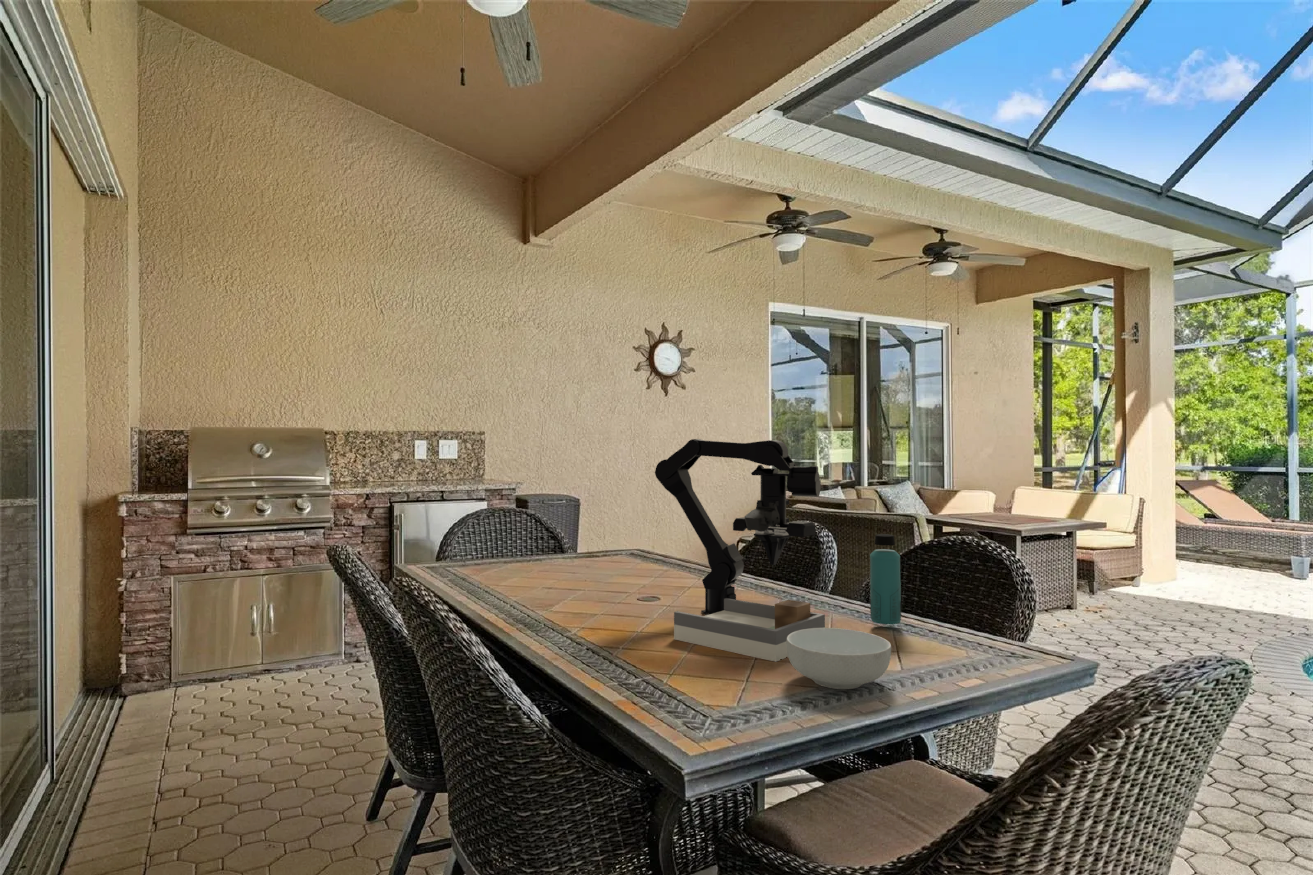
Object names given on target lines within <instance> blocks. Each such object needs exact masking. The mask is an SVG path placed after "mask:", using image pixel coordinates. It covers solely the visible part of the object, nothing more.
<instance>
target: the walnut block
mask: <svg viewBox="0 0 1313 875" xmlns="http://www.w3.org/2000/svg"><path fill="white" fill-rule="evenodd" d="M774 606H775V629H777V628H780V627H783V626H786V625H789V624H792V623H794V622H797V621H800V620H803V619H806V618H809V617H810V612H811V603H810V602H806V601H805V602H804V601H799V600H798V601H797V600H791V599H787V600H783V601H779V602H777V603H774Z"/></svg>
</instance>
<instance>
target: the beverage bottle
mask: <svg viewBox="0 0 1313 875" xmlns="http://www.w3.org/2000/svg"><path fill="white" fill-rule="evenodd" d="M895 544H896V541H895V536H894V535H893V534H888V533H887V534H886V533H879V534H875V535H874V545H877V546H895ZM869 560H870V562H869V563H870V568H869V570H870V573H869V574H870V575H869V576H870V577H869V579H870V580H869V581H870V582H869V591H870V592H869V596H870V599H869V617H870V620H871V621H872V622H874V623H876V624H882V625H897V624H900V623H901V621H902V618H903V617H902V616H903V615H902V610H903V608H902V606H903V605H902V602H903V601H902V586H901V585H902V580H901V555H900V554H899V553H898V552H897V551H896V550H893V549H885V548H881V549H878V548H877V549H874V550H873V551H872V552H871V553H870V554H869Z"/></svg>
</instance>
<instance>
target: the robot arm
mask: <svg viewBox="0 0 1313 875" xmlns="http://www.w3.org/2000/svg"><path fill="white" fill-rule="evenodd" d="M701 457H713V458H727V459H738V460H739V459H741V460H746V461H749V462H753V463H755V464H758V465H757V467H756V468H755V469H754V470H753V471H751V475H752V476H760V496H759V497H760V499H757V502H756V508H754V509H752V510H750V512H748V513H747V514H746V515H744V516H743V517H736V518H734V520H733V522H732V531H735V532H737V531H738V532H745V531H746V530H747V531H749V532H750V531H754V532H755V533H753V536H754V537H756V538H758V540H760V541H761V544H762V545H763V548H764V549H765V553H766V555H767V559H768V561H769V564H770V566H776V565H777V563H778V561H779V558H780V556H781V554H782V552H783V549H784V547H785V545H786V544H787V542H788V540H789V539H790V538H792V537H799V538H804V537H811V536H815V535H817V534H816V533H817V532H816V531H817V530H816V525H815V523H813V522H812V521H804V520H802V521H801V520H799V521H798V520H797V521H791V522H790V518H789V517H787V506H788V505H790V500H789V499H787V492H788V493H791V496H793V497H805V498H806V497H807V498H808V497H811V498H819V496H820V495H821V485H822V484H821V479H820V474H819V466H818V465H811V466H797V465H796V464H795V462H794V461H793V460H792V458H791V457H790V455H789V450H788V447H787V445H786V444H785V443H784V442H783V441H781V440H775V439H774V440H773V439H772V440H771V439H770V440H760V441H753V442H731V441H718V440H717V441H715V440H703V439H700V438H692V439H689V440H688V441H687V442H686V443H685V444H684V445H683V446H682V447H681V448H679V449H678V450H677V451H675V452H674V453H672V454H671V455H670V456H669V457H668V458H667V459H661V461H659V462H658V463H657V464H656V466H655V471H654V475H655V478H656V479H657V481H658V482H659V483H660V484H661V485H662V487H663V488H664V489H665V490H666V491H668V492H669V493H670V495H672V496H673V497H674V498H675V499H676V501H677V502H678V504H679V505H680V507H681V509H682V511H683V513H684V514H685V516H686V518H687V520H688V521H689V523H690V524H691V527H692V528H693V529H694V531H695V533H696V535H697V537H698V538H699V540H700V542H701V543H702V545H703V547H704V549H705V551H706V557H707V562H708V566H709V568H710V572H708V574H706V576H705V577H704V578H702V580H701V582H702V584H703V587H704V589H705V591H704V592H705V593H704V594H705V595H704V598H705V599H704V600H705V603H704V604H705V607H704V609H703V610H701V611H700V613H702V614H705V615H709V614H713V613H716V612H720V611H723V610H724V599H725V598H729V599H735V600H737V593H736V590H735V589H736V588H735V586H733V585H735V583H736V580H737V579H738V578H739V577H740V576H741V575H742V574H743V572H744V566H745V563H744V561H743V559H744V558H745V557H744V556H742V555H741V553H740V552H739V549H738V547H737V545H736V543H734V542H733V543H730V544H728V543H727V542H725V541H724V540H723V539H722V536H721V534H720V533H719V531H718V529H717V528H716V526H715V525H714V523H713V521H712V520H711V518H710V516H709V514H708V513H707V511H706V508H704V506H703V505H702V503H701V501H700V499H699V498H698V496H697V494H696V492H695V491H694V488H693V485H692V479H691V478H692V477H691V475H690V472H689V470H690V469H691V468H692V467H693V466H694V465H695V464H696V462H697V461H698V460H699V459H700V458H701ZM763 465H764V466H768V467H764V466H763ZM771 466H773V468H772V467H771ZM769 467H771V468H769ZM778 470H779V471H780V472H779V471H778ZM781 471H782V472H781ZM783 471H787V472H783Z"/></svg>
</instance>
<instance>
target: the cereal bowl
mask: <svg viewBox="0 0 1313 875" xmlns="http://www.w3.org/2000/svg"><path fill="white" fill-rule="evenodd" d="M786 641H787V642H786V644H787V654H788V657H787V658H788V660H789V662H790V664H791V665H792V667H793V668H794V669H795V670H796V672H798V673H800V674H801V675H802V676H804V677H806V678H808V679H810V680H812V681H813V682H814V683H815V684H816V685H819V686H821V687H824V688H829V689H834V690H835V689H836V690H852V689H858V688H860V687H861V686H862V685H864V684H867V683H872V682H874V681H876V680H878V679H879V678H881V677H882V676H883V675H884V674H885V673H886V671H887V670H888V668H889V665H890V661H891V656H892V645H891V642H890V641H889V640H887V639H885V638H884V637H881V636H879V635H876V634H872V633H869V632H865V631H861V630H854V629H848V628H838V627H825V628H811V629H803V630H799V631H795V632H793V633H791V634H789V635H788V637H787V640H786Z"/></svg>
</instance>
